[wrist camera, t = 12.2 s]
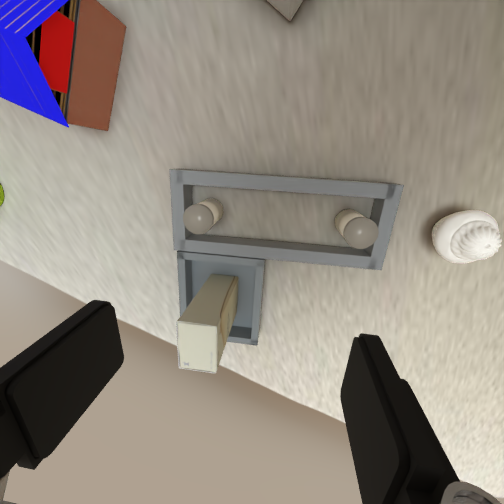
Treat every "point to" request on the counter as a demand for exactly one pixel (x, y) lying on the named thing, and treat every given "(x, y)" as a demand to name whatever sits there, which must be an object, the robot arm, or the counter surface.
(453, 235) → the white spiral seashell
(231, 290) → the skincare box
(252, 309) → the tray
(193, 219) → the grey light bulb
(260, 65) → the counter surface
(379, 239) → the grey rectangular frame
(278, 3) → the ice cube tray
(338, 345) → the counter surface
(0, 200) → the soap dispenser
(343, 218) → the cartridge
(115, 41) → the house
